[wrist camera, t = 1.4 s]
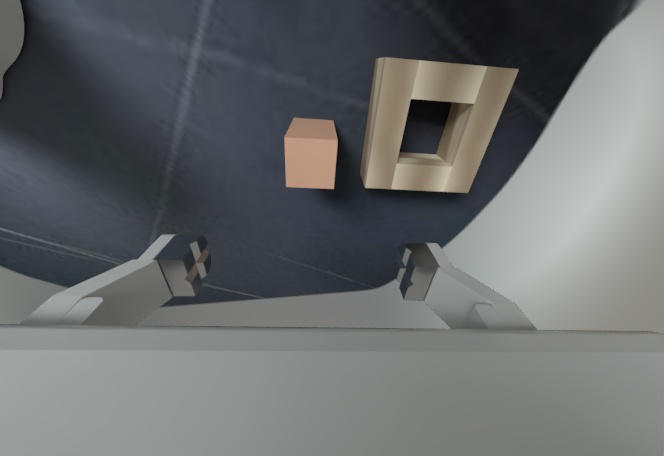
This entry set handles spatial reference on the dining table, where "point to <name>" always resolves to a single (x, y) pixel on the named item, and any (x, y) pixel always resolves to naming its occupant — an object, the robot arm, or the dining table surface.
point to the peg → (311, 153)
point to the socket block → (459, 132)
